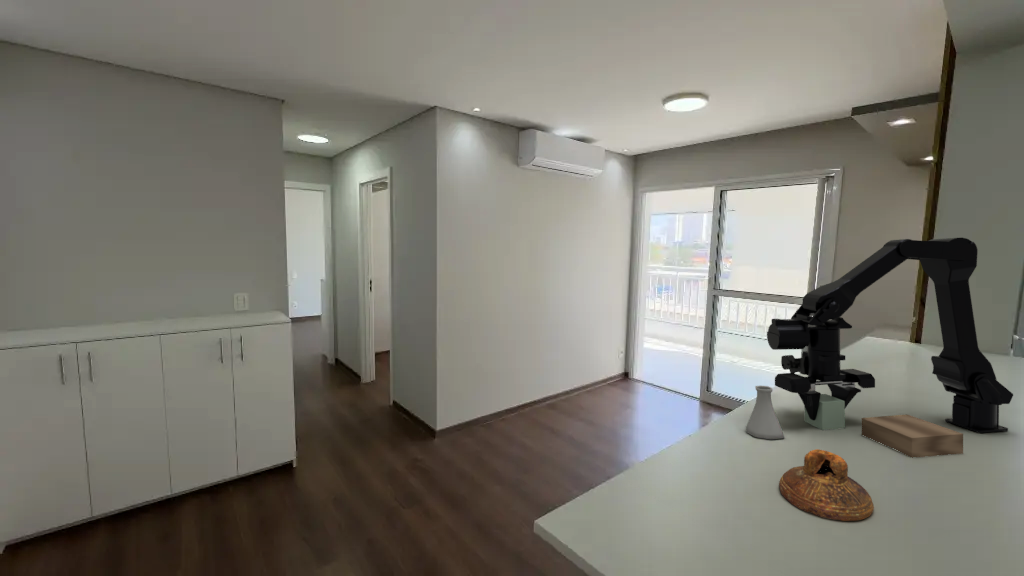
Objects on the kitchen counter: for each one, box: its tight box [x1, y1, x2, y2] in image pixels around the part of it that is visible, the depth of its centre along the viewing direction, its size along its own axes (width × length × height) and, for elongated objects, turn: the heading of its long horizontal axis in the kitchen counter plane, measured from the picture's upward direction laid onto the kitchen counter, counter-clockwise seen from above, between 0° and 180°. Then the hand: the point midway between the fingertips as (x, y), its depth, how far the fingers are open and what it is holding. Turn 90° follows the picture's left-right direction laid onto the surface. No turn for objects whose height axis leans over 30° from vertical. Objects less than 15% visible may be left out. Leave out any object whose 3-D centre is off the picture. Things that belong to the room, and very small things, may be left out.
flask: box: [745, 385, 785, 440], centre depth 87 cm, size 7×7×10 cm
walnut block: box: [861, 414, 964, 459], centre depth 80 cm, size 10×10×4 cm
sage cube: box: [803, 393, 846, 431], centre depth 90 cm, size 5×5×6 cm
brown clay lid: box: [778, 449, 875, 522], centre depth 63 cm, size 12×12×7 cm
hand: (824, 418), depth 90 cm, fingers closed on sage cube, 5 cm apart
